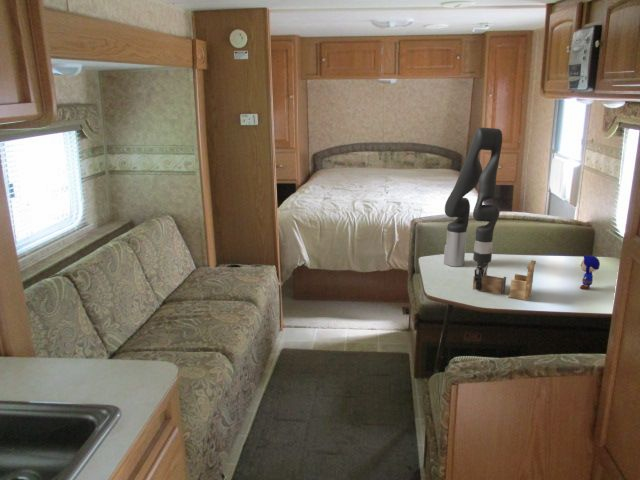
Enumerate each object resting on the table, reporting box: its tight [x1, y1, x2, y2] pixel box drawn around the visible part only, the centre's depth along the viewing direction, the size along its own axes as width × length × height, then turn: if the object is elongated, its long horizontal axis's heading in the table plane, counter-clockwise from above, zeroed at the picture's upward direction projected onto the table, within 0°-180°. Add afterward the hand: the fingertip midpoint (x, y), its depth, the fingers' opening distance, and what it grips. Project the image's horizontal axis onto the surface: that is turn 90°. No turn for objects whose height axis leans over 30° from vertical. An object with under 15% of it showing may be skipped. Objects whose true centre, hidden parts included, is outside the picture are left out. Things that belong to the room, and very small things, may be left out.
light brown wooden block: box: [472, 274, 507, 295], centre depth 236 cm, size 13×4×7 cm, turn 60°
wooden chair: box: [507, 259, 537, 302], centre depth 228 cm, size 8×9×15 cm
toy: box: [579, 254, 601, 291], centre depth 236 cm, size 13×8×15 cm, turn 142°
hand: (479, 287), depth 239 cm, fingers open, 4 cm apart
